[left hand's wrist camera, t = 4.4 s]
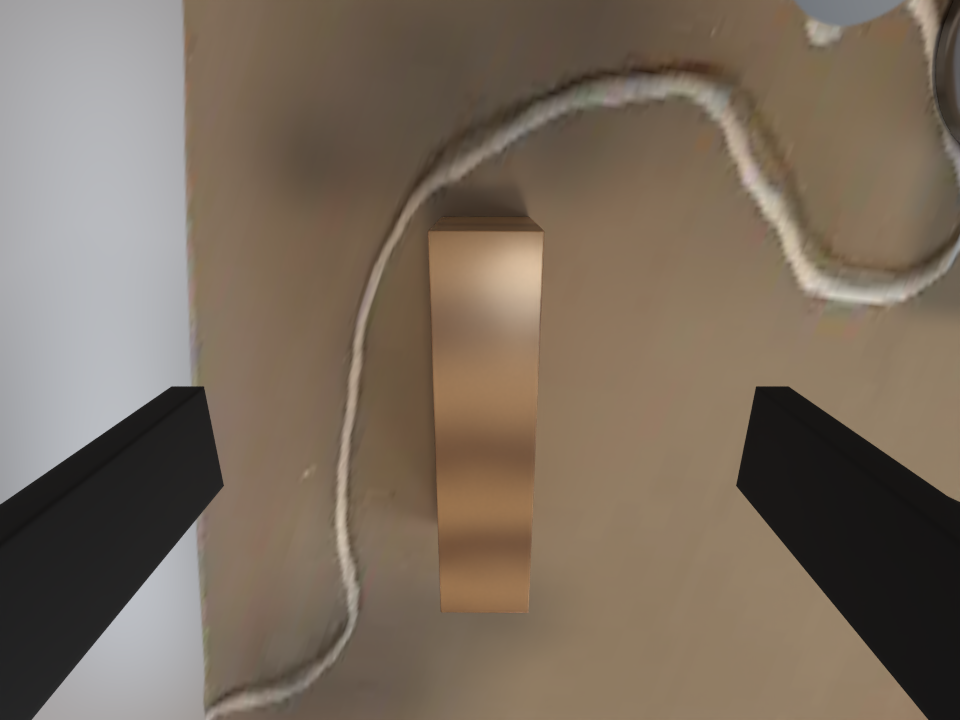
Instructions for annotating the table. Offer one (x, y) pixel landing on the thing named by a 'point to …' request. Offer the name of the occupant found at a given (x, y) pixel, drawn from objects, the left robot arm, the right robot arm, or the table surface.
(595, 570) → the table surface
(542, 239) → the bar
